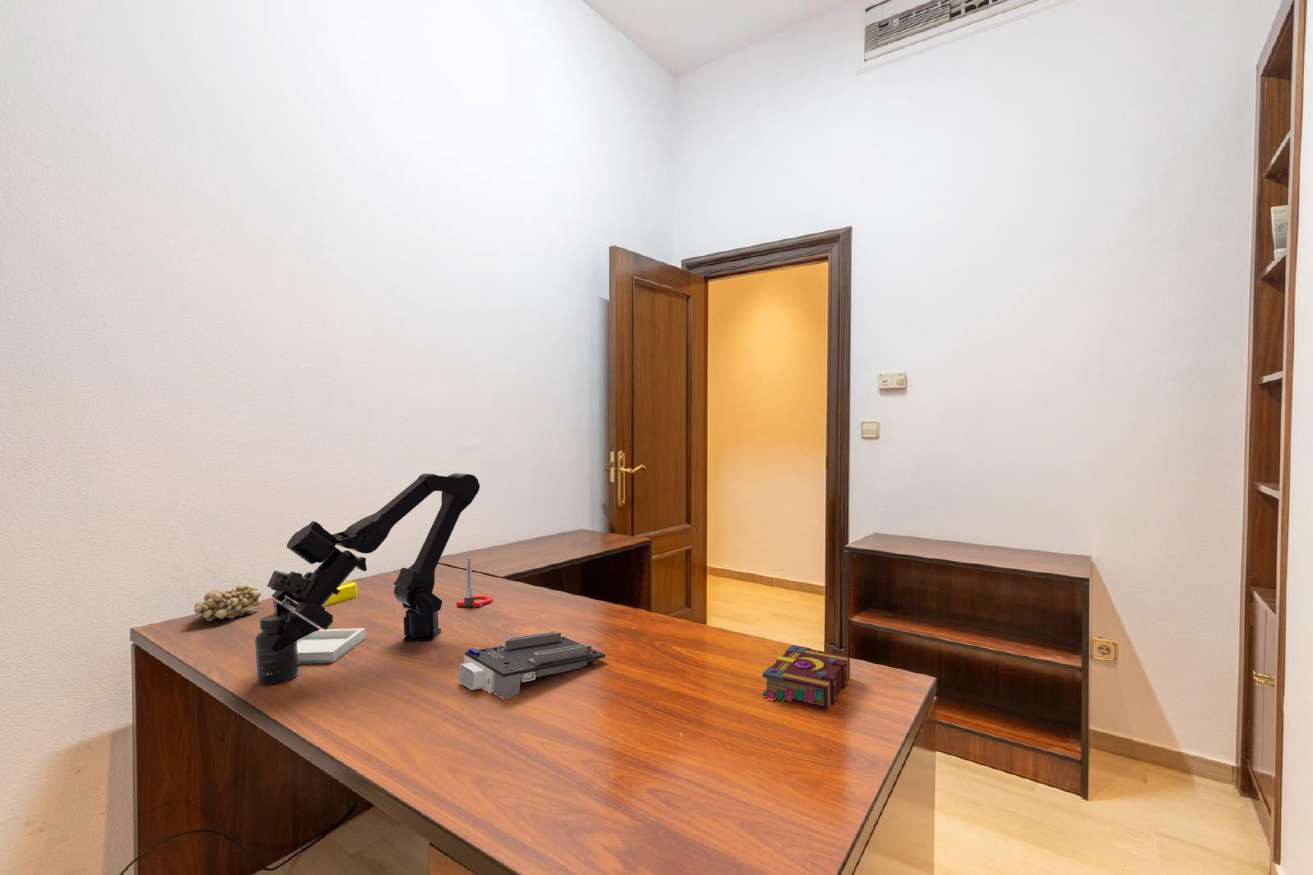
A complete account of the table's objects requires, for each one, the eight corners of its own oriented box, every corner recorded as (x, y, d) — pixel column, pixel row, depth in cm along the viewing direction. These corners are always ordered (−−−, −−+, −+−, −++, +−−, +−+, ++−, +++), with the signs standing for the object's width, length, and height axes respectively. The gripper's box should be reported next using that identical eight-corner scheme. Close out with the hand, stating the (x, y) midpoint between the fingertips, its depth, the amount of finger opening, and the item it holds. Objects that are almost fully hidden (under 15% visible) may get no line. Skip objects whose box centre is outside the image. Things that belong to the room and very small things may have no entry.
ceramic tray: (365, 637, 136) (365, 628, 136) (333, 662, 123) (333, 651, 122) (303, 639, 136) (303, 630, 136) (264, 664, 122) (264, 653, 122)
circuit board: (603, 680, 119) (561, 659, 130) (606, 645, 120) (564, 628, 130) (489, 706, 102) (451, 680, 113) (493, 665, 103) (455, 643, 113)
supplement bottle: (269, 671, 119) (266, 611, 118) (305, 669, 119) (303, 610, 119) (248, 687, 112) (246, 623, 111) (287, 684, 112) (284, 621, 112)
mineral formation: (268, 609, 160) (226, 624, 145) (219, 618, 160) (173, 634, 145) (263, 579, 160) (221, 591, 145) (215, 588, 160) (168, 601, 145)
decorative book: (851, 679, 110) (851, 652, 110) (826, 717, 96) (825, 686, 96) (791, 667, 116) (791, 641, 116) (759, 701, 102) (759, 672, 102)
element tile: (360, 597, 171) (360, 580, 170) (307, 612, 158) (306, 594, 158) (330, 590, 178) (329, 575, 178) (277, 604, 165) (276, 587, 165)
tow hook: (469, 599, 167) (452, 607, 158) (468, 552, 167) (452, 558, 158) (497, 599, 166) (482, 608, 157) (497, 553, 166) (482, 559, 157)
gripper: (281, 548, 124) (219, 614, 116) (312, 561, 111) (244, 636, 103) (324, 578, 130) (267, 642, 122) (358, 593, 117) (297, 666, 109)
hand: (268, 646), depth 114 cm, fingers closed on supplement bottle, 7 cm apart
